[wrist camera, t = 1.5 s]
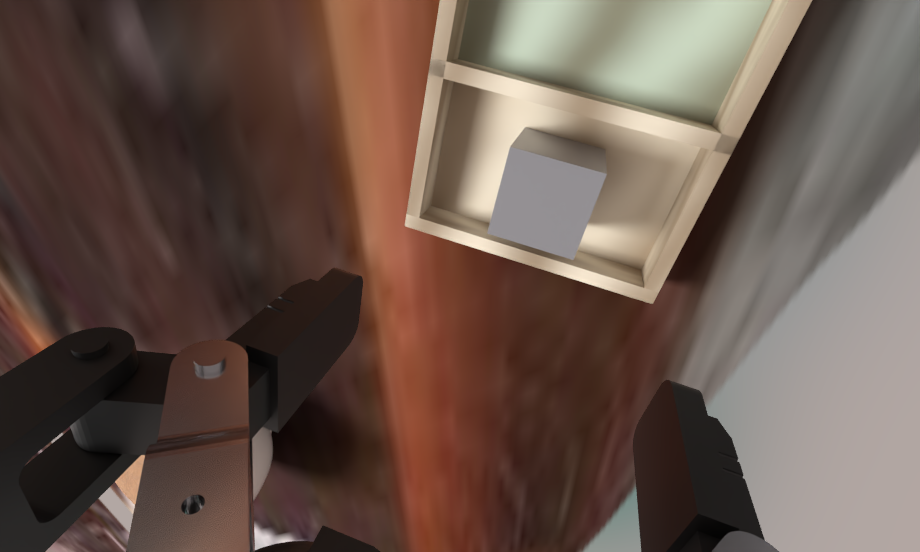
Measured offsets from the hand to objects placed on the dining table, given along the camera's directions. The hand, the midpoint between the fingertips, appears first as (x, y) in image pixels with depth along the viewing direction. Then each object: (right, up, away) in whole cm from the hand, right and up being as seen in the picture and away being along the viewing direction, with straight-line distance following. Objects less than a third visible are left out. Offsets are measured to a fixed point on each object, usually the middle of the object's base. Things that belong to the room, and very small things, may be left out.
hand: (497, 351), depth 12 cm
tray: (+5, +12, +12) cm, 18 cm away
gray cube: (+4, +8, +14) cm, 17 cm away
